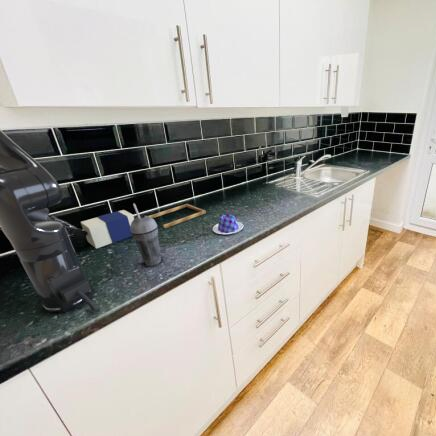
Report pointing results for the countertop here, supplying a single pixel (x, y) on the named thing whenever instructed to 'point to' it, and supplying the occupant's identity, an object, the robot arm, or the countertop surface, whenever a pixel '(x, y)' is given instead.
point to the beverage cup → (146, 238)
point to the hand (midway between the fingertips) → (85, 234)
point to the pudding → (227, 225)
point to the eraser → (108, 228)
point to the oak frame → (181, 218)
